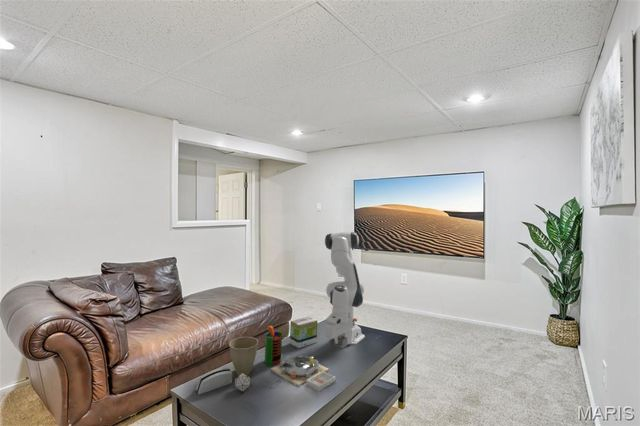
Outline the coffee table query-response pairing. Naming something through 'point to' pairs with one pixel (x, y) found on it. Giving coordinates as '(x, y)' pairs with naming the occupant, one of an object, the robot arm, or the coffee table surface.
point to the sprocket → (300, 366)
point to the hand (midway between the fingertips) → (339, 341)
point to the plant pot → (243, 353)
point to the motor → (273, 347)
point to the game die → (242, 382)
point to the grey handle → (214, 380)
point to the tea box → (303, 332)
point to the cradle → (321, 381)
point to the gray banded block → (341, 341)
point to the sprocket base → (297, 380)
